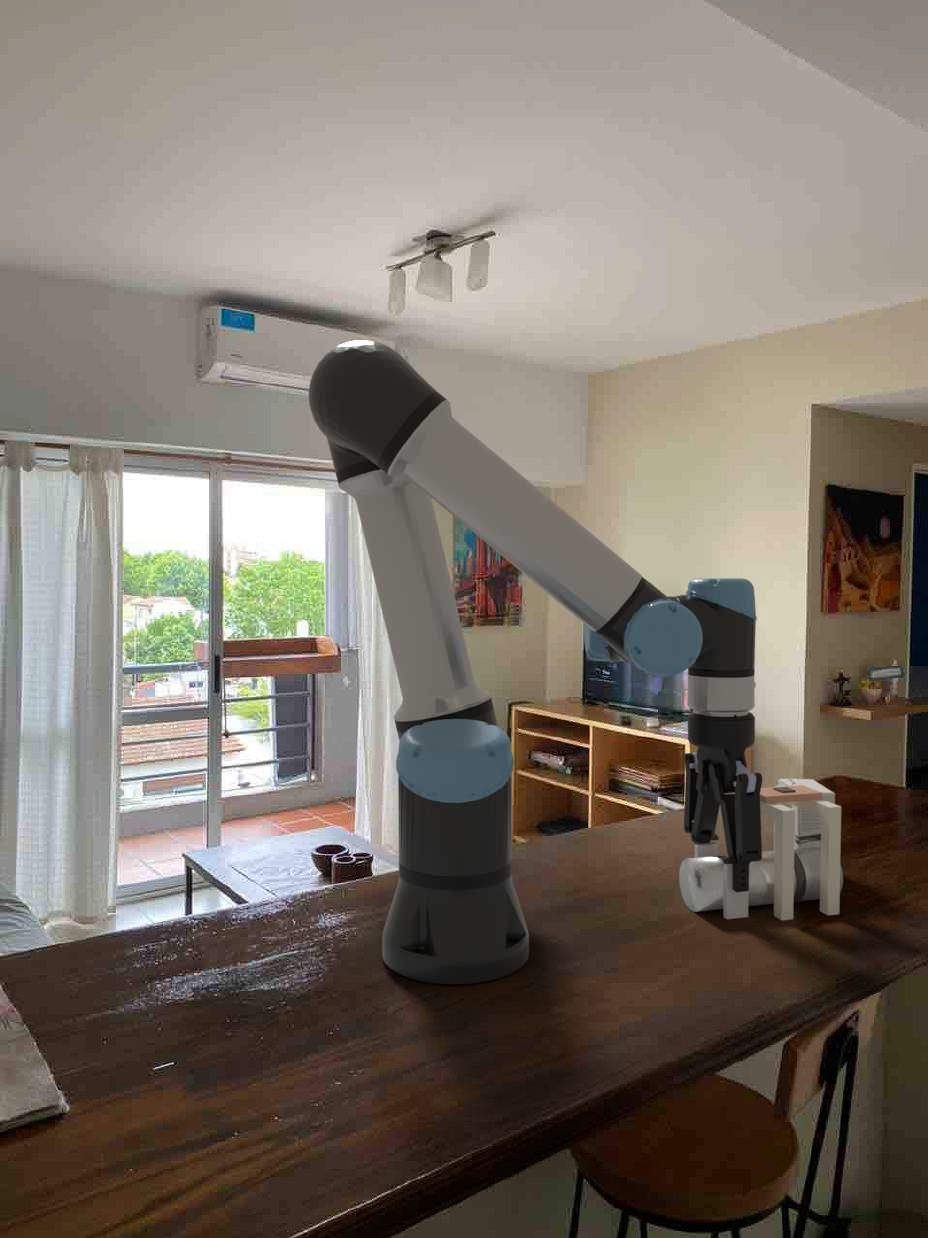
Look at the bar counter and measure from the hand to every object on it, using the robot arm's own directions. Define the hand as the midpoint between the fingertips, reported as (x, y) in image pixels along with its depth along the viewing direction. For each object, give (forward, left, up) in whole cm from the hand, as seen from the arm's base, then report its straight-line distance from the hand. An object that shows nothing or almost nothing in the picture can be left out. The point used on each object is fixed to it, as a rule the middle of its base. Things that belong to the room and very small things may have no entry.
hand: (720, 906), depth 110 cm
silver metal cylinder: (+5, 0, 0) cm, 5 cm away
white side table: (+8, 0, 0) cm, 8 cm away
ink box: (+17, +8, 0) cm, 19 cm away
